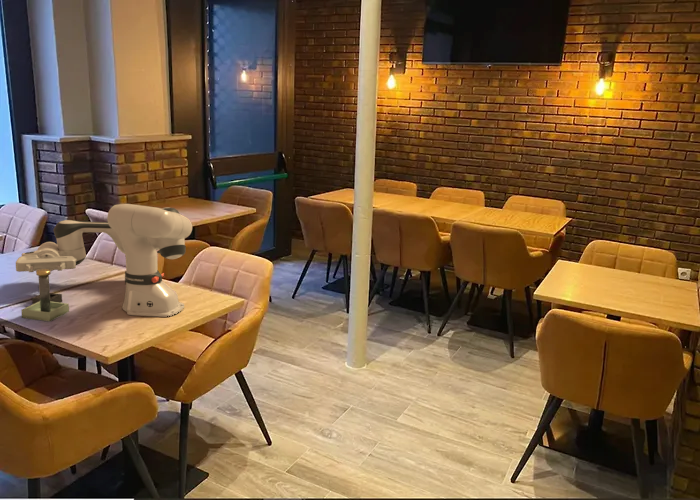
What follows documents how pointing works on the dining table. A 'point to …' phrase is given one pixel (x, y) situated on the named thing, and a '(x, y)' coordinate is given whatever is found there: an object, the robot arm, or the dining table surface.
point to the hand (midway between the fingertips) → (45, 269)
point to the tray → (37, 314)
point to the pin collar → (53, 298)
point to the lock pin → (44, 289)
